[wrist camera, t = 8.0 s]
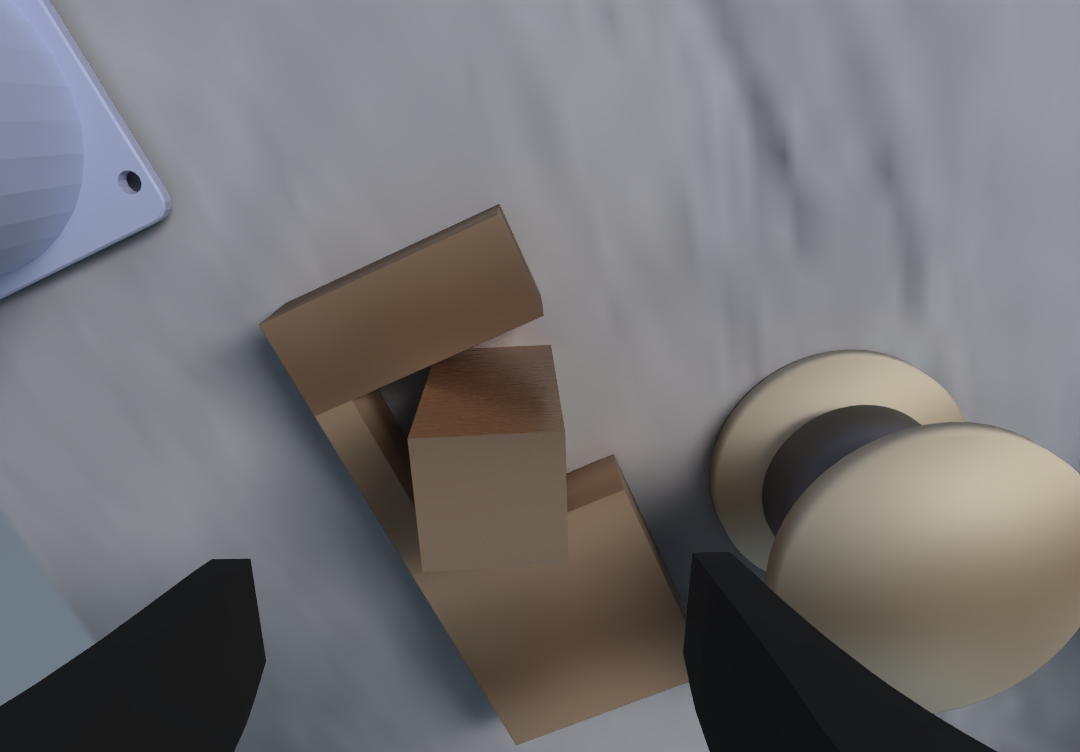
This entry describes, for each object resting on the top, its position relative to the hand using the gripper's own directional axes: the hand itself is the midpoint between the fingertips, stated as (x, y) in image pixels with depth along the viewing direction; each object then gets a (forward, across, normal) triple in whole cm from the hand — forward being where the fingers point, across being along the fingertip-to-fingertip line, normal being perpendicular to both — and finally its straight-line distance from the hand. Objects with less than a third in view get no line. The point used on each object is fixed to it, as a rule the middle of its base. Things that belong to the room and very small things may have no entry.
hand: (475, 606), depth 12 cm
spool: (+8, -10, +2) cm, 13 cm away
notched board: (+8, 0, +2) cm, 8 cm away
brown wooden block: (+8, 0, 0) cm, 8 cm away
